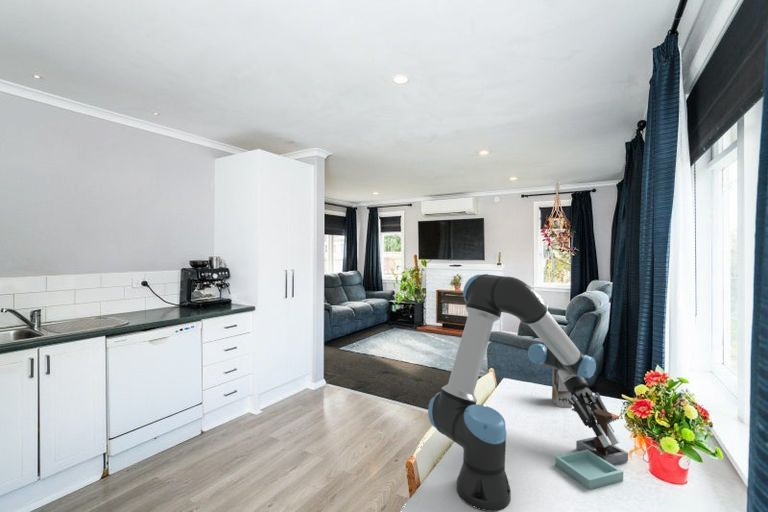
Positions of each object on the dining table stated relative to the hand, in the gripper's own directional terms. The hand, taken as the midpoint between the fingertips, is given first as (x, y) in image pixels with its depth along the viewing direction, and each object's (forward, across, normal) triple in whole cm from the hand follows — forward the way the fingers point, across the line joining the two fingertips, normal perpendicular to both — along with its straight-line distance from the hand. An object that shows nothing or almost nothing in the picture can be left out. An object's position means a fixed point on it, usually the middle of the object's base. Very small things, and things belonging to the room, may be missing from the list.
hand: (611, 444), depth 122 cm
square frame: (+1, 0, -7) cm, 7 cm away
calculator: (-16, -27, -25) cm, 40 cm away
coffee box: (-25, -21, -34) cm, 47 cm away
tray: (+6, +13, -2) cm, 14 cm away
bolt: (+1, 0, -7) cm, 7 cm away
